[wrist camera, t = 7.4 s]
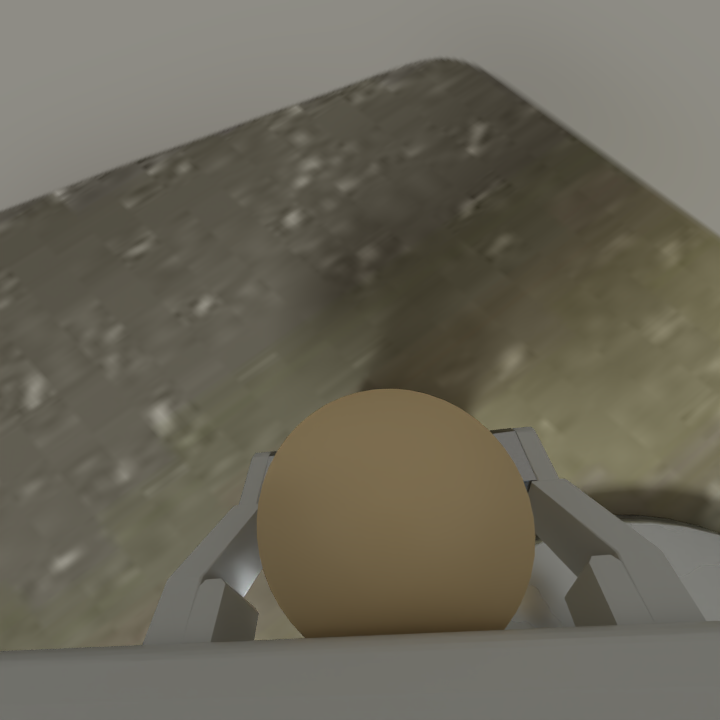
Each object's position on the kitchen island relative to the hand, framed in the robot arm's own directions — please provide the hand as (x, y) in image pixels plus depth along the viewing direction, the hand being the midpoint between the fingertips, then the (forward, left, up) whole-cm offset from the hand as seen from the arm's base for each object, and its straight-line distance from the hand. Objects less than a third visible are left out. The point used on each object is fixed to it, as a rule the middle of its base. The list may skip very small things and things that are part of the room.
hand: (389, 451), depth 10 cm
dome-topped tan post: (0, 0, -5) cm, 5 cm away
